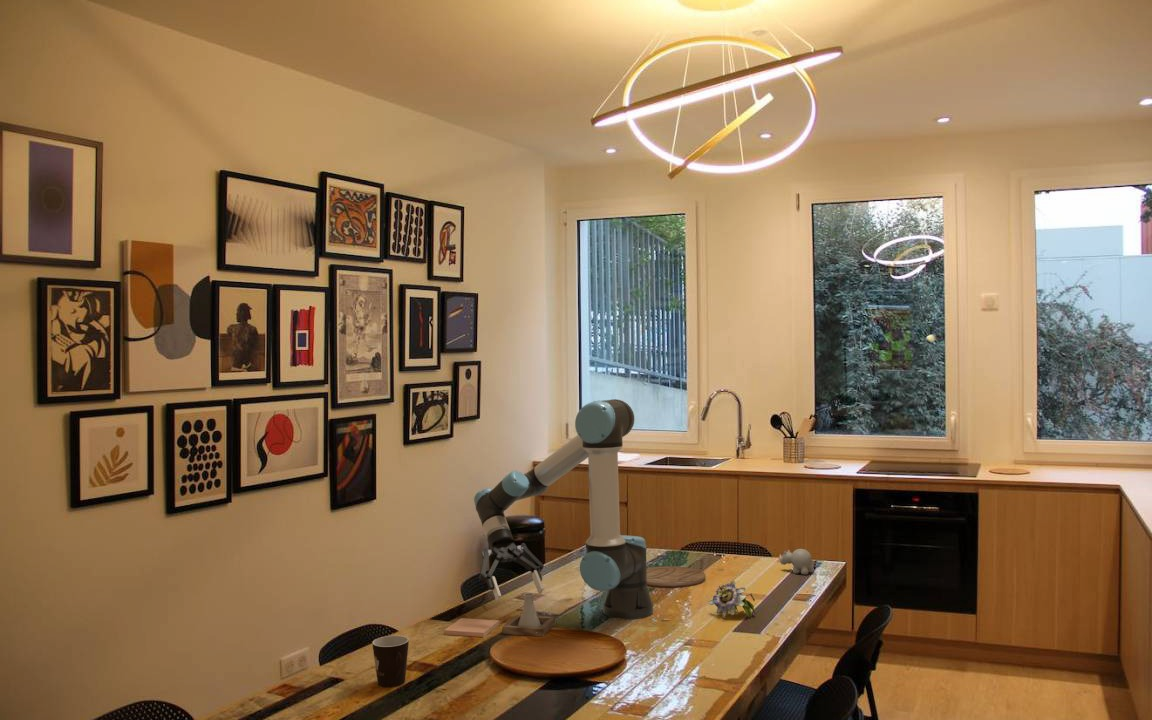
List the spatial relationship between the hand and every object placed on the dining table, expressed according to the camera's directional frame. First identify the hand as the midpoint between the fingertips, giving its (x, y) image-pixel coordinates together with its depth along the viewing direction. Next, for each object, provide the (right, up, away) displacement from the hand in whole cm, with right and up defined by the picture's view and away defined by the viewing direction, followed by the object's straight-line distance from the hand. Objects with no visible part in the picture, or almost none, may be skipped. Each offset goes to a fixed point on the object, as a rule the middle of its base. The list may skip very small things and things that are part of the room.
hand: (520, 595), depth 255 cm
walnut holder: (+3, -9, -3) cm, 10 cm away
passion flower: (+63, -8, +6) cm, 64 cm away
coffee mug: (-28, -10, -45) cm, 54 cm away
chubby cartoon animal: (+94, -7, +57) cm, 110 cm away
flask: (+3, -9, -3) cm, 10 cm away
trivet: (+49, -9, +51) cm, 71 cm away
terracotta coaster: (-14, -9, -3) cm, 17 cm away
